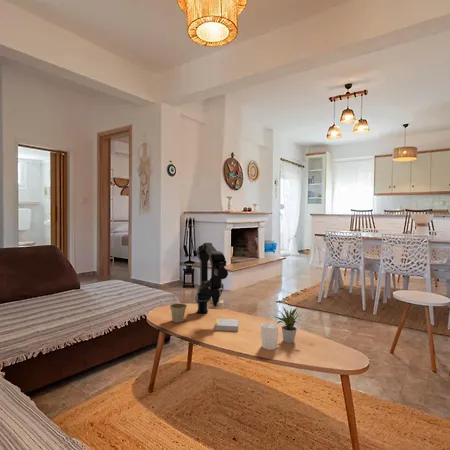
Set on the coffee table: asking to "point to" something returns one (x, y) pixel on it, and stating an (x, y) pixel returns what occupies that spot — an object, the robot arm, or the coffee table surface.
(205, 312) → the robot arm
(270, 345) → the white cup
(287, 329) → the house plant
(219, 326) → the dock
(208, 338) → the coffee table surface
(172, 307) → the flower pot
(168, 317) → the coffee table surface
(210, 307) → the pallet
